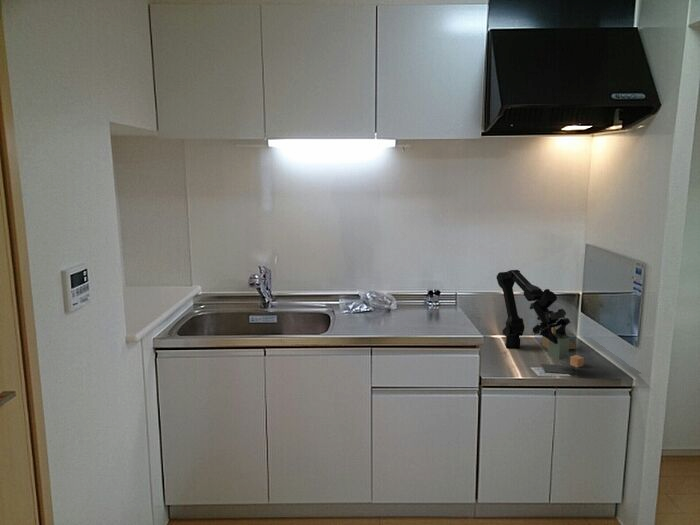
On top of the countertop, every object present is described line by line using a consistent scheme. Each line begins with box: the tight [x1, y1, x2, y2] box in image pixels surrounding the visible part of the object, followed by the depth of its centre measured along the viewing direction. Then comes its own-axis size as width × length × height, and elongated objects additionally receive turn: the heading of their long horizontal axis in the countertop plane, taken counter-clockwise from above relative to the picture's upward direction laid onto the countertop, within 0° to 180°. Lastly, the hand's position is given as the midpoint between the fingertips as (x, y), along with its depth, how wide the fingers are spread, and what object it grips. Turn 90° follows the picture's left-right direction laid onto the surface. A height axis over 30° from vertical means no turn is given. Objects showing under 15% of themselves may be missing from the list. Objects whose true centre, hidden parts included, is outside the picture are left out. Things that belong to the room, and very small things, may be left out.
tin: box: [547, 332, 571, 361], centre depth 220 cm, size 6×6×10 cm
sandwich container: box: [541, 327, 578, 350], centre depth 250 cm, size 9×15×15 cm, turn 102°
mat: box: [540, 363, 575, 375], centre depth 222 cm, size 12×9×1 cm
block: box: [569, 354, 585, 368], centre depth 227 cm, size 4×4×4 cm
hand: (561, 342), depth 219 cm, fingers closed on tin, 6 cm apart
